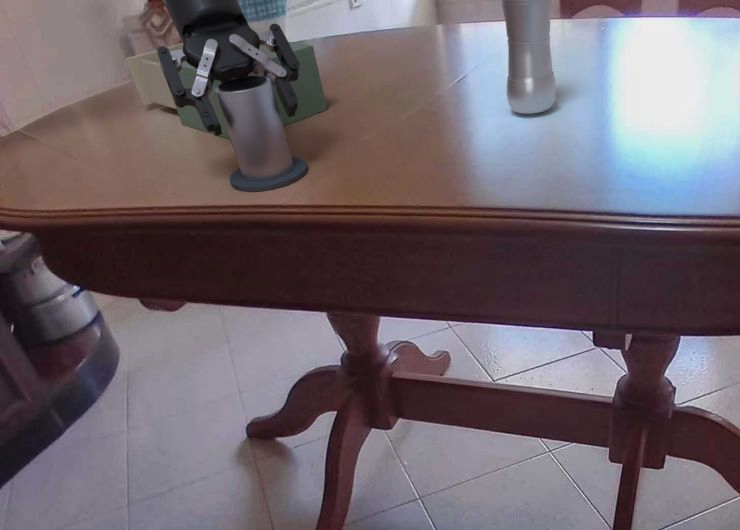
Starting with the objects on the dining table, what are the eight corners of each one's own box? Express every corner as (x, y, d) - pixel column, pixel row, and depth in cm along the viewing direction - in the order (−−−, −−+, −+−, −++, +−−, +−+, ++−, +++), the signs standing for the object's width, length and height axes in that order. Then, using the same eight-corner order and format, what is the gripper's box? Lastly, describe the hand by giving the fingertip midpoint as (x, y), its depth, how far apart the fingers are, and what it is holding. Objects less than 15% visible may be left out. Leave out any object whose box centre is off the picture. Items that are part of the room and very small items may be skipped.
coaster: (258, 198, 77) (256, 193, 77) (216, 181, 83) (214, 176, 82) (323, 169, 83) (321, 164, 82) (279, 156, 88) (278, 151, 87)
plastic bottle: (499, 118, 91) (485, -58, 79) (520, 101, 96) (509, -67, 84) (545, 121, 89) (537, -60, 77) (564, 103, 94) (559, -69, 82)
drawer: (130, 100, 112) (113, 55, 108) (206, 77, 120) (192, 34, 116) (188, 118, 101) (170, 68, 97) (267, 91, 109) (254, 44, 105)
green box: (181, 124, 103) (159, 61, 97) (267, 95, 111) (250, 36, 106) (239, 142, 93) (218, 74, 88) (327, 109, 102) (312, 45, 96)
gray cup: (260, 185, 79) (233, 94, 73) (232, 174, 82) (204, 87, 76) (304, 166, 82) (281, 78, 76) (275, 157, 86) (251, 72, 80)
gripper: (127, -16, 73) (188, 120, 72) (260, -38, 78) (319, 87, 77) (139, 31, 80) (194, 156, 79) (260, 8, 85) (314, 124, 84)
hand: (256, 122), depth 78 cm, fingers open, 8 cm apart
